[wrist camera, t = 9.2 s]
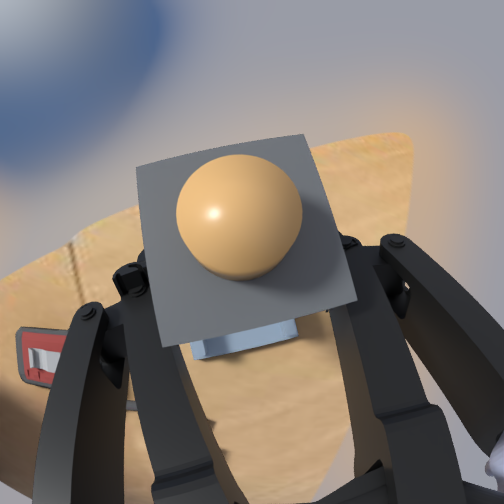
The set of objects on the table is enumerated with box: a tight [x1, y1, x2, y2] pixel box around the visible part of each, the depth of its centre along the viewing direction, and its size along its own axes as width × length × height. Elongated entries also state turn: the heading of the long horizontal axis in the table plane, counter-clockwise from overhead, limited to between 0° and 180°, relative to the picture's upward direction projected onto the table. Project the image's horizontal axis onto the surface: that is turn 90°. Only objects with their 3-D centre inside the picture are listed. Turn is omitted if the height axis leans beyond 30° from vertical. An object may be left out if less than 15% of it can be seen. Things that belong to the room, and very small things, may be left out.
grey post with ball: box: [136, 134, 357, 347], centre depth 12 cm, size 4×4×13 cm
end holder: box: [190, 319, 299, 360], centre depth 26 cm, size 10×10×3 cm
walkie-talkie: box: [16, 327, 138, 411], centre depth 24 cm, size 9×4×20 cm
